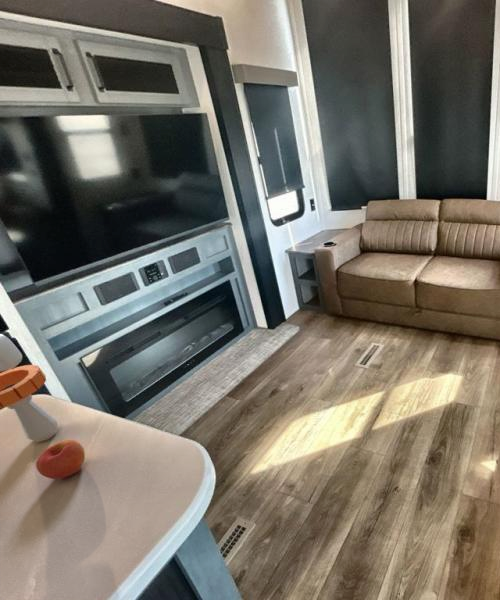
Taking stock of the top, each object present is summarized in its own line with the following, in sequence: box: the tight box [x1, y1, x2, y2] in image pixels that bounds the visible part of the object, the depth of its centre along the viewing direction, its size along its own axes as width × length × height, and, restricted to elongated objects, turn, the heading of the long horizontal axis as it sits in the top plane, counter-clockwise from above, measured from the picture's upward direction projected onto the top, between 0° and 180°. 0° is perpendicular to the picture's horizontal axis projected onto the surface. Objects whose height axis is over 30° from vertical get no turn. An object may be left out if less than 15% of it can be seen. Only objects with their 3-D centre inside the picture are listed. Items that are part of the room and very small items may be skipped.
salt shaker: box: [7, 394, 59, 443], centre depth 85 cm, size 6×6×13 cm
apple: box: [35, 439, 86, 480], centre depth 75 cm, size 7×7×8 cm
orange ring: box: [0, 364, 47, 410], centre depth 81 cm, size 12×12×3 cm
